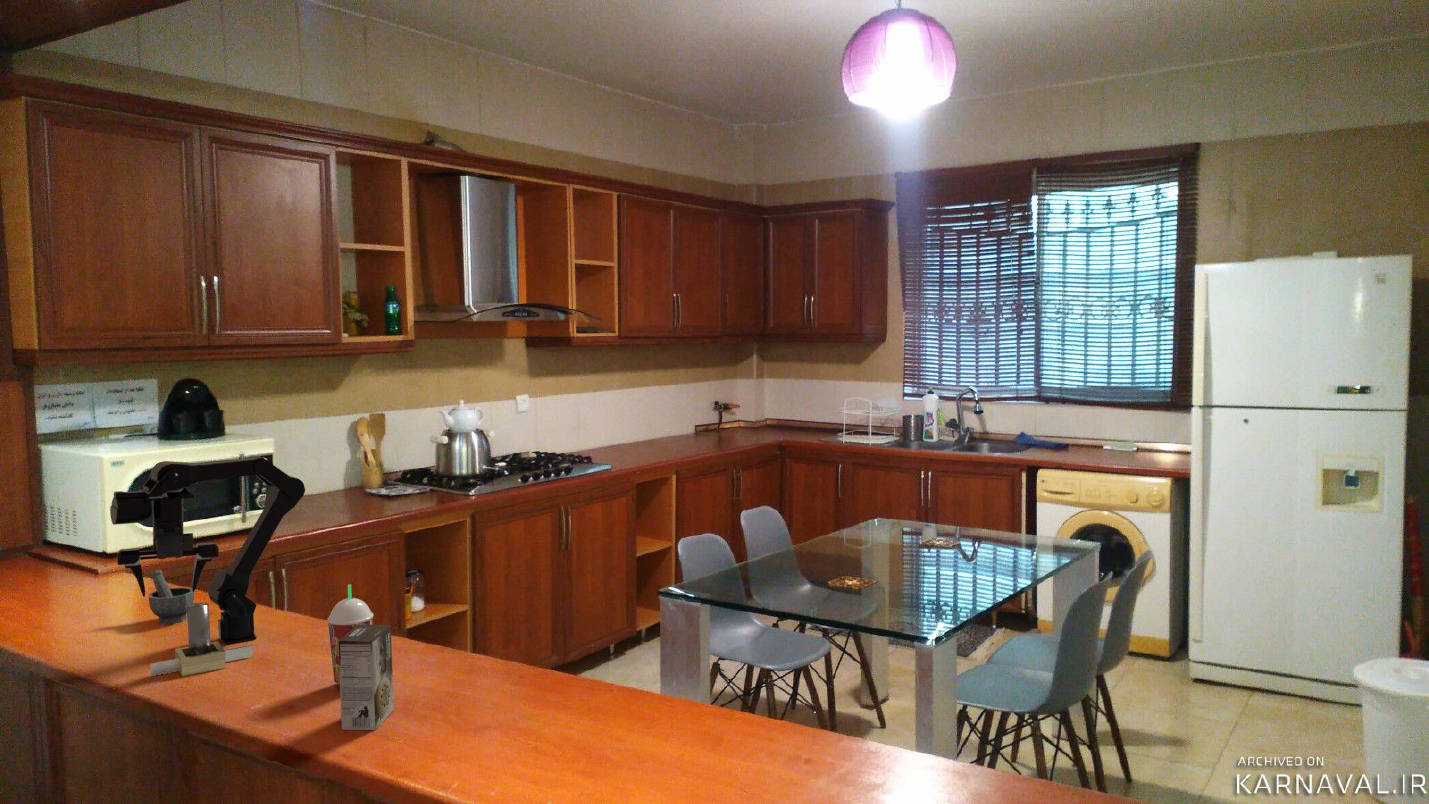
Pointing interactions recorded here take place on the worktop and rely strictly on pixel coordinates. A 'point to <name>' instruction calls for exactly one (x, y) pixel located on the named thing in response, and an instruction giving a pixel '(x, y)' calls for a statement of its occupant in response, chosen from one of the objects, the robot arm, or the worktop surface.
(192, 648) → the hinge pin
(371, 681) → the coffee box
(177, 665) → the bracket
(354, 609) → the smoothie
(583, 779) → the worktop surface
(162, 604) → the mortar and pestle
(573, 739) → the worktop surface
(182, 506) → the robot arm
